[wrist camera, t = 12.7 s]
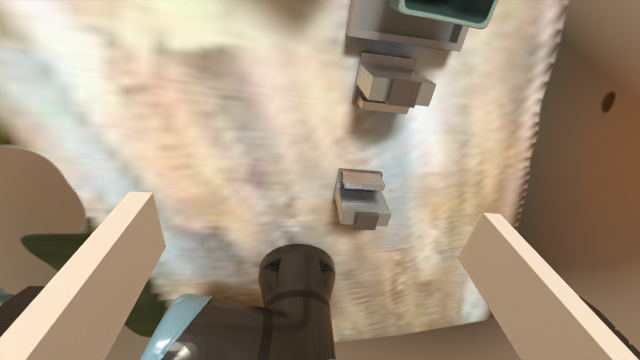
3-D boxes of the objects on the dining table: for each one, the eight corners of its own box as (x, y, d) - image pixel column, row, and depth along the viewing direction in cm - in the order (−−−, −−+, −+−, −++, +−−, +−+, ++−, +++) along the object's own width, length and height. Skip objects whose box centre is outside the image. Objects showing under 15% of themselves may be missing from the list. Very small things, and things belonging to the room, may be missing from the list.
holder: (372, 201, 47) (386, 236, 40) (333, 198, 47) (339, 234, 39) (414, 58, 35) (444, 73, 28) (361, 51, 34) (378, 64, 27)
